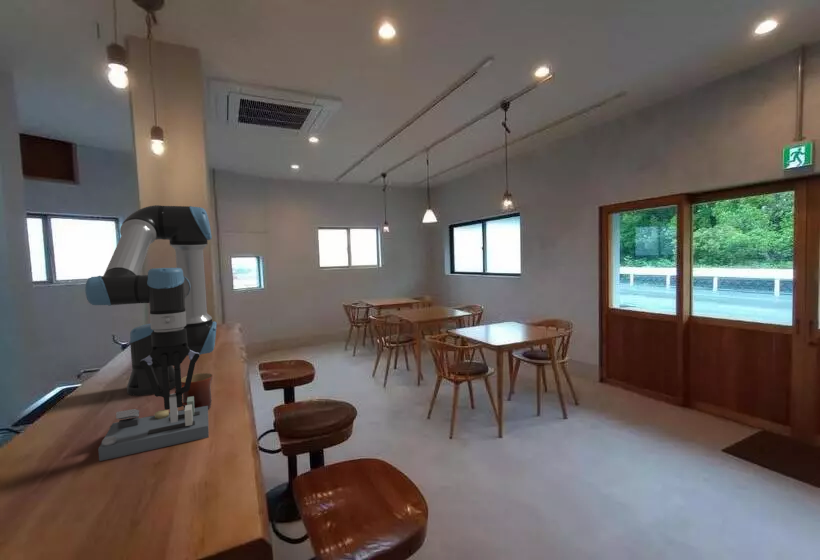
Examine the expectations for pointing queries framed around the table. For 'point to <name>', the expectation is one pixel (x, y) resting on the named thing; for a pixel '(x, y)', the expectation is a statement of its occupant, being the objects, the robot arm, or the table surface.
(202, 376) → the mug
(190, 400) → the grey block
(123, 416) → the block
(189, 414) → the pale grey cuboid
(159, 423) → the console
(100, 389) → the table surface
